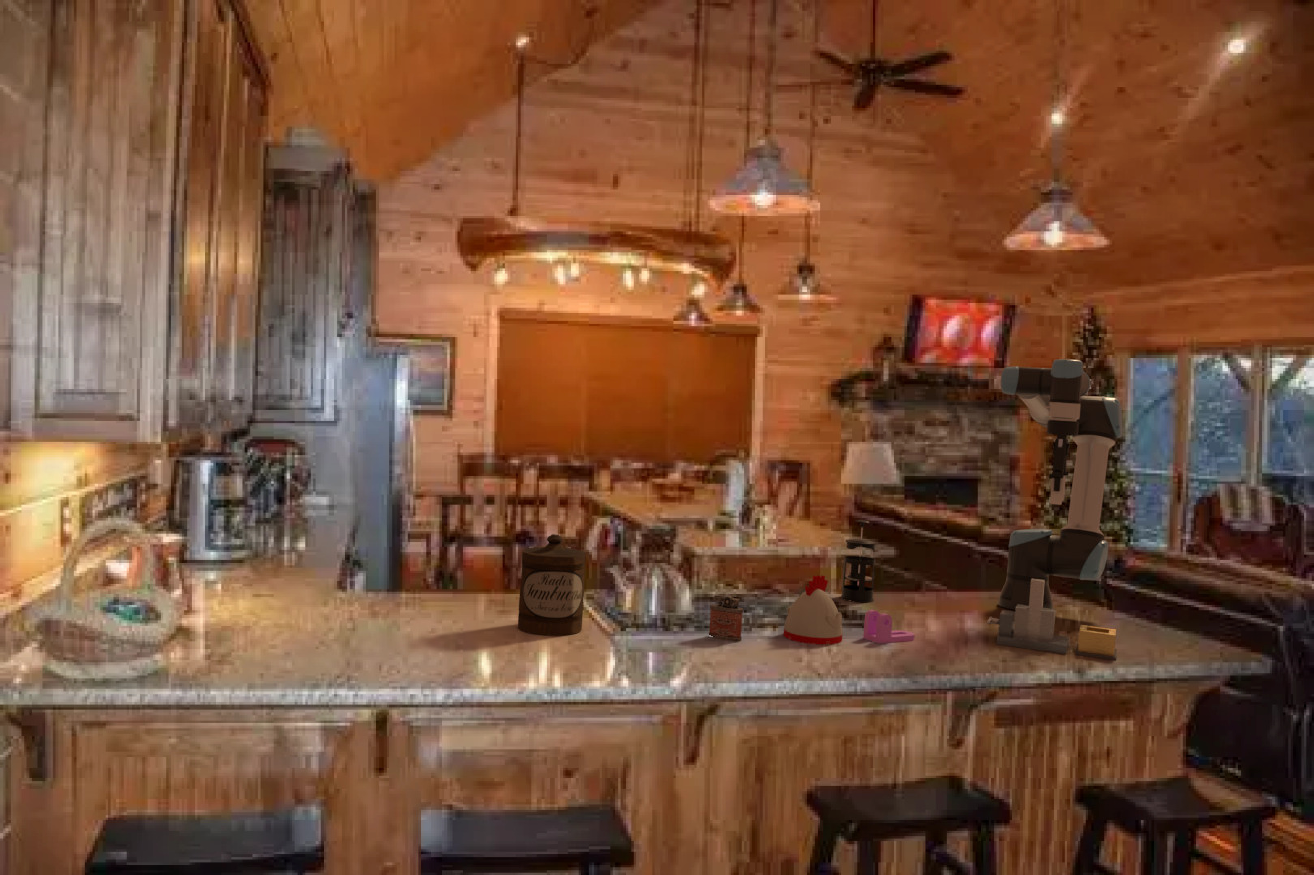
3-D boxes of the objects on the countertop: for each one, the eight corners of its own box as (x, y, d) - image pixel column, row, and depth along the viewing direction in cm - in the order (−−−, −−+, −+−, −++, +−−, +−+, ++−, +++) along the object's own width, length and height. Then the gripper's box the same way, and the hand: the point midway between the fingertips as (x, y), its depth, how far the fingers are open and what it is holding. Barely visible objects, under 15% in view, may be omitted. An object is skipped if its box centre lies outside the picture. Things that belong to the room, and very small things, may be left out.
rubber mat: (1077, 645, 271) (1077, 643, 271) (1116, 651, 268) (1116, 648, 268) (1075, 654, 261) (1075, 652, 261) (1116, 660, 257) (1116, 657, 257)
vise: (989, 633, 279) (994, 571, 279) (1068, 644, 272) (1073, 580, 271) (983, 642, 268) (988, 577, 268) (1066, 654, 261) (1071, 587, 260)
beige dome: (853, 640, 262) (857, 578, 261) (820, 647, 252) (824, 583, 251) (805, 629, 271) (809, 569, 271) (772, 635, 261) (776, 573, 261)
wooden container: (520, 635, 245) (526, 538, 244) (515, 621, 259) (520, 529, 258) (585, 636, 248) (591, 540, 247) (577, 622, 262) (582, 531, 261)
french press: (877, 603, 312) (883, 523, 311) (845, 601, 312) (850, 521, 311) (867, 595, 324) (873, 518, 323) (836, 594, 324) (841, 517, 323)
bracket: (879, 643, 260) (881, 614, 260) (863, 638, 265) (865, 610, 264) (919, 640, 267) (921, 612, 266) (902, 635, 271) (904, 607, 271)
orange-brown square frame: (1079, 644, 270) (1080, 624, 269) (1114, 649, 266) (1115, 629, 266) (1078, 651, 262) (1079, 630, 262) (1114, 656, 259) (1115, 635, 259)
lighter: (743, 639, 254) (746, 597, 254) (738, 642, 251) (741, 599, 251) (711, 634, 258) (714, 592, 257) (706, 637, 255) (708, 594, 254)
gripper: (1050, 418, 293) (1044, 497, 294) (1045, 419, 270) (1038, 504, 271) (1080, 420, 290) (1074, 500, 291) (1077, 421, 267) (1070, 507, 268)
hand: (1057, 502), depth 281 cm, fingers open, 13 cm apart
